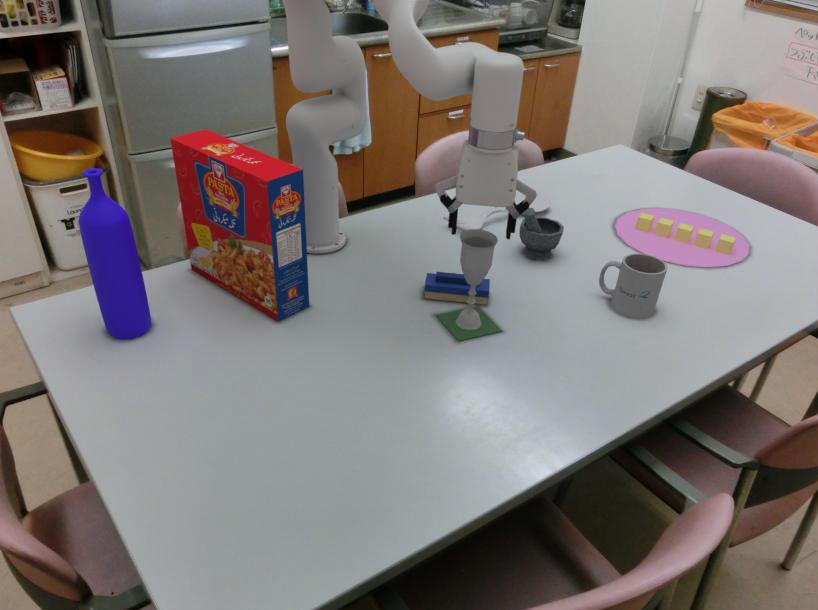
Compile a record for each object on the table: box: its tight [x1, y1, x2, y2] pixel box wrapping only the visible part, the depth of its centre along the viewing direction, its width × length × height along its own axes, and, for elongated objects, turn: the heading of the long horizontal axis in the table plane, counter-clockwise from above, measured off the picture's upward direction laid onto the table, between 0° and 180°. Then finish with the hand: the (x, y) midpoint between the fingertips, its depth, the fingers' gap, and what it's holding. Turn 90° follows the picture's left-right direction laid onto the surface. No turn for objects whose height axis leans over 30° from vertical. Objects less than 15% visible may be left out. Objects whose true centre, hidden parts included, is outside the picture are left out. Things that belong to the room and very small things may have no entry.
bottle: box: [78, 167, 152, 340], centre depth 118 cm, size 8×8×30 cm
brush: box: [424, 271, 491, 306], centre depth 140 cm, size 13×5×5 cm, turn 83°
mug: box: [598, 252, 668, 319], centre depth 139 cm, size 12×9×10 cm
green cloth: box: [435, 305, 503, 342], centre depth 134 cm, size 10×10×1 cm
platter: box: [614, 207, 750, 269], centre depth 168 cm, size 32×32×3 cm
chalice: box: [456, 229, 499, 330], centre depth 128 cm, size 7×7×18 cm
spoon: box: [442, 194, 552, 232], centre depth 171 cm, size 9×32×4 cm, turn 128°
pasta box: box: [169, 128, 310, 323], centre depth 132 cm, size 28×8×28 cm, turn 49°
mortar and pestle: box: [519, 208, 565, 261], centre depth 155 cm, size 11×9×12 cm
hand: (480, 233), depth 122 cm, fingers open, 9 cm apart
